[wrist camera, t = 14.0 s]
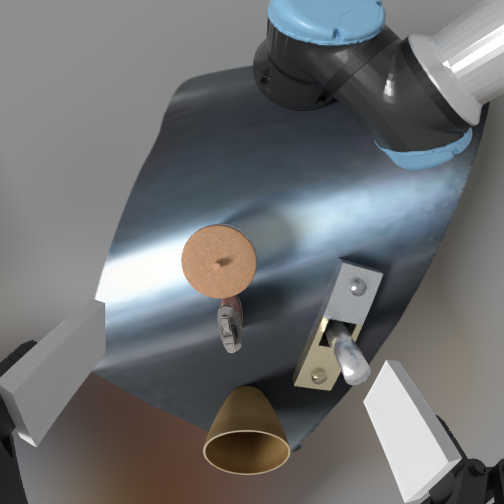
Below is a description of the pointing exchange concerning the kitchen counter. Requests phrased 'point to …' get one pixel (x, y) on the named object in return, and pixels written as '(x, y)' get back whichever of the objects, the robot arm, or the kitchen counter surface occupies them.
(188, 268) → the lidded jar
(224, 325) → the lighter
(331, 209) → the kitchen counter surface
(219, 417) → the plant pot
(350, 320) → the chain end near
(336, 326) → the pin
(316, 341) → the frame
